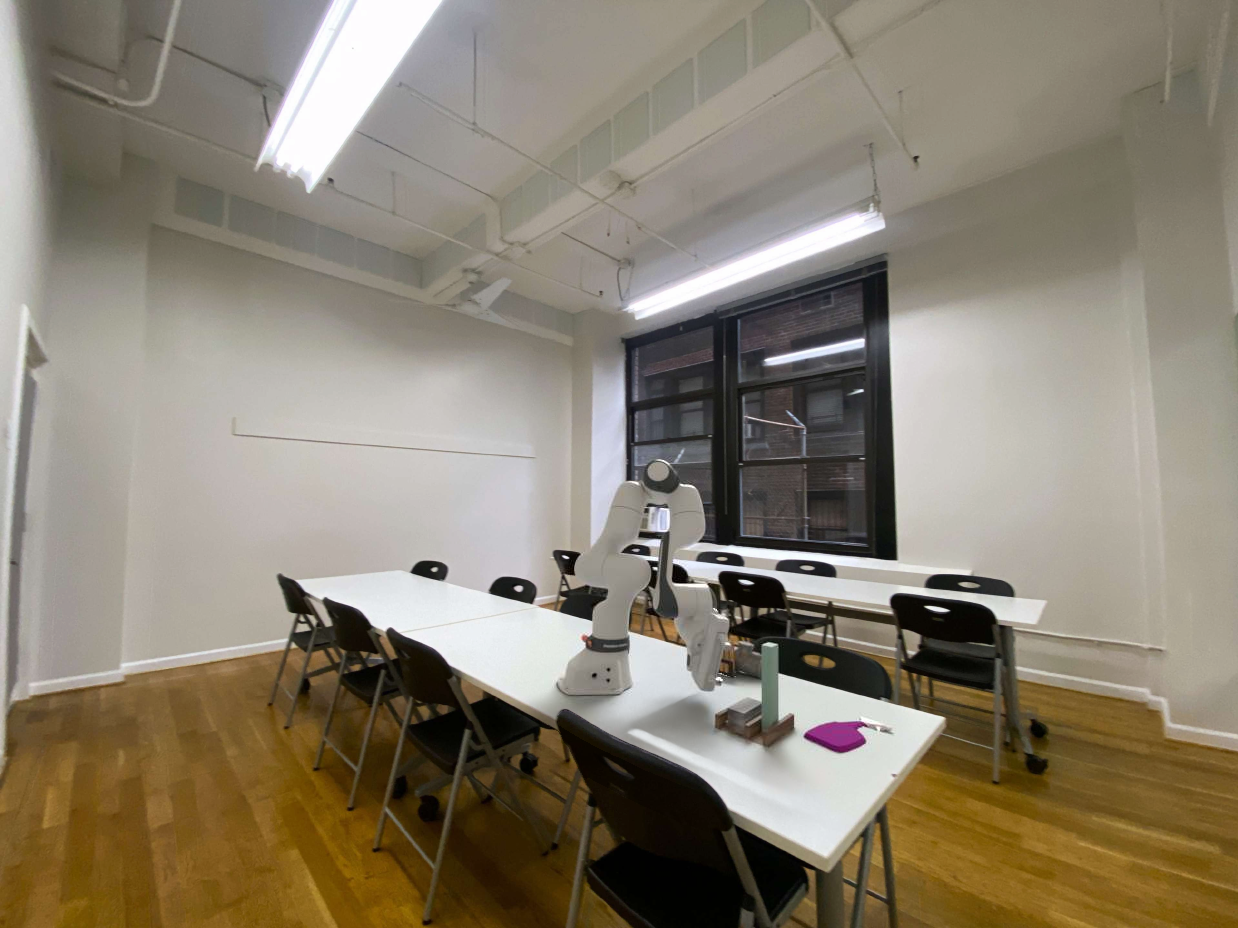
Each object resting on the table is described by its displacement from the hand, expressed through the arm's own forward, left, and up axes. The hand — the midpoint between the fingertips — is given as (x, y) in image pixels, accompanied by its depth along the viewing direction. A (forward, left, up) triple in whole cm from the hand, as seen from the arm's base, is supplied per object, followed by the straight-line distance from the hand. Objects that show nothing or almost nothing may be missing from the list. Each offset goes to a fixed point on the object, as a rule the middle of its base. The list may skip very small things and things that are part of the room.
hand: (723, 665), depth 123 cm
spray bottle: (+25, -15, -14) cm, 33 cm away
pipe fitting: (+26, +30, -14) cm, 42 cm away
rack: (+4, -7, -14) cm, 16 cm away
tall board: (+6, -11, -12) cm, 18 cm away
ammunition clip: (+18, +33, -14) cm, 40 cm away
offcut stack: (+3, -6, -12) cm, 14 cm away
